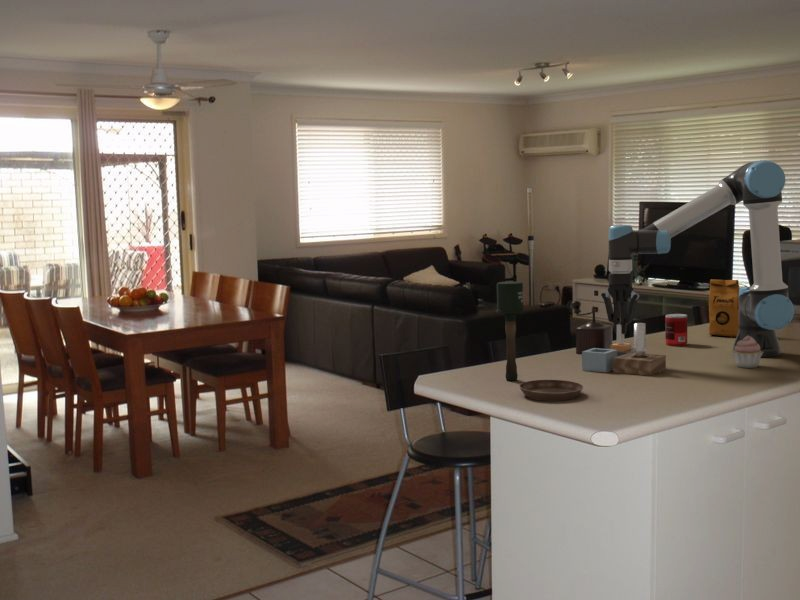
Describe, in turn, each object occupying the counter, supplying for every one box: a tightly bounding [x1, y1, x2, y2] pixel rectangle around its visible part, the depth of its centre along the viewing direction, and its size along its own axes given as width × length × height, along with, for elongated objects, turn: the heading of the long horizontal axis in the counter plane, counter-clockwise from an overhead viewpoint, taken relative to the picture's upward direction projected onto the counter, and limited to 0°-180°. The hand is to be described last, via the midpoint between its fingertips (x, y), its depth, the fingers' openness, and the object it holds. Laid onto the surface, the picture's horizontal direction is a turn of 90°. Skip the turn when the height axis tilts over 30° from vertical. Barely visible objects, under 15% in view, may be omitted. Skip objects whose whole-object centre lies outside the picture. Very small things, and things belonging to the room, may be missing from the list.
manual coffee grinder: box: [570, 300, 613, 355], centre depth 320 cm, size 16×11×18 cm
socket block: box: [613, 353, 667, 376], centre depth 281 cm, size 12×12×4 cm
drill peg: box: [633, 322, 647, 358], centre depth 281 cm, size 4×4×15 cm
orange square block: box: [611, 342, 632, 352], centre depth 296 cm, size 5×5×4 cm
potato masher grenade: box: [495, 281, 525, 382], centre depth 272 cm, size 8×9×30 cm
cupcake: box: [731, 336, 763, 369], centre depth 282 cm, size 9×9×10 cm
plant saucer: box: [518, 379, 584, 402], centre depth 250 cm, size 18×18×3 cm
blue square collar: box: [581, 348, 617, 373], centre depth 286 cm, size 8×8×6 cm
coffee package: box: [708, 278, 740, 338], centre depth 346 cm, size 10×12×22 cm
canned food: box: [664, 313, 688, 347], centre depth 329 cm, size 8×8×11 cm
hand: (620, 343), depth 295 cm, fingers closed
